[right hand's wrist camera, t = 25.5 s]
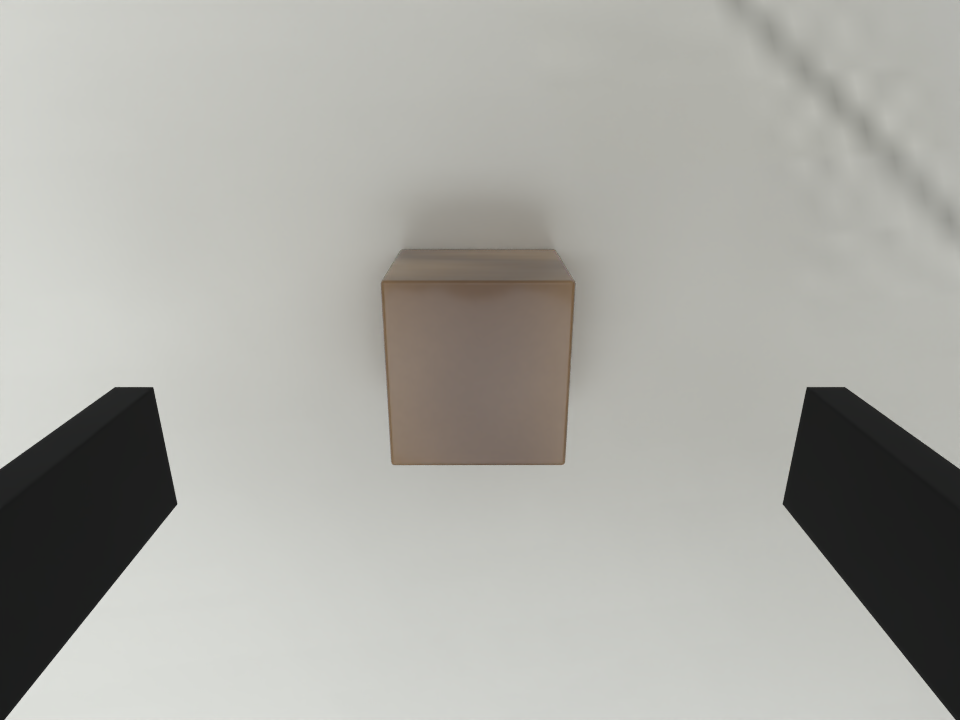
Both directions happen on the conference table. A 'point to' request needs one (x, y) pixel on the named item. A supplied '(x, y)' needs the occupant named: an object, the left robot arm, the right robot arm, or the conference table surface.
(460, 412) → the brown cardboard box
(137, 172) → the conference table surface
